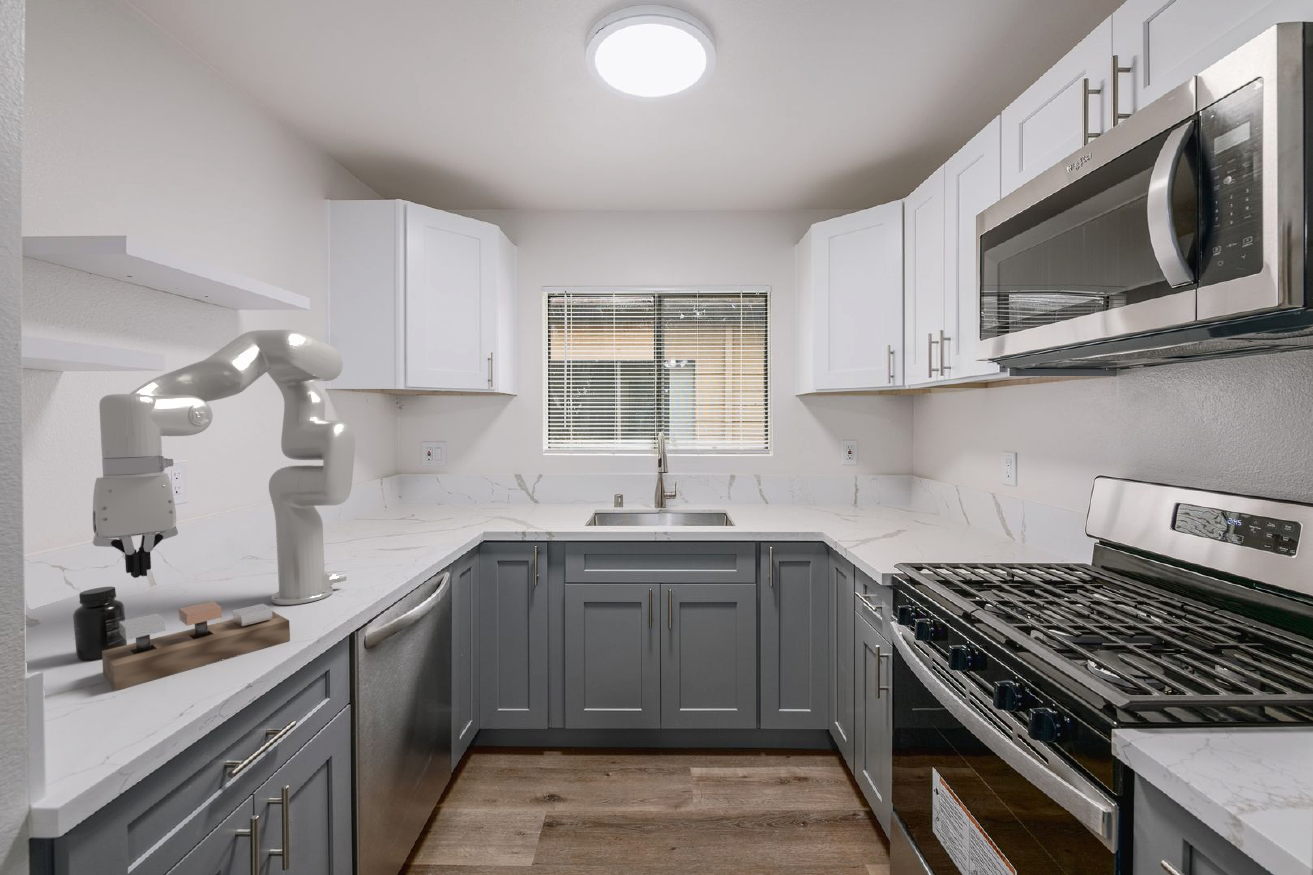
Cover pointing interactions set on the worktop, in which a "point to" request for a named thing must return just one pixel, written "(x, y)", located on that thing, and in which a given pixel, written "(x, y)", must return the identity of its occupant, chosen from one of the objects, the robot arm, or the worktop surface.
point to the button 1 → (142, 630)
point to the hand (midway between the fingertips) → (138, 575)
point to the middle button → (200, 616)
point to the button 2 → (252, 614)
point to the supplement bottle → (98, 623)
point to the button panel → (190, 650)
